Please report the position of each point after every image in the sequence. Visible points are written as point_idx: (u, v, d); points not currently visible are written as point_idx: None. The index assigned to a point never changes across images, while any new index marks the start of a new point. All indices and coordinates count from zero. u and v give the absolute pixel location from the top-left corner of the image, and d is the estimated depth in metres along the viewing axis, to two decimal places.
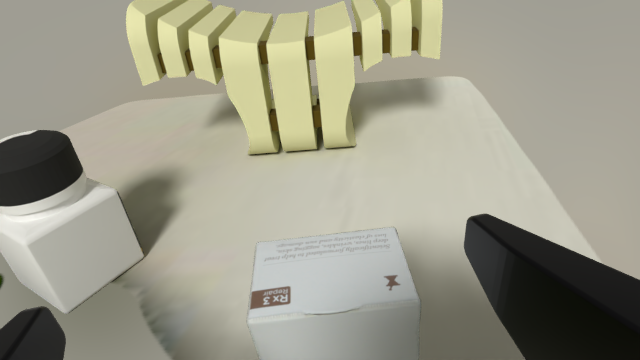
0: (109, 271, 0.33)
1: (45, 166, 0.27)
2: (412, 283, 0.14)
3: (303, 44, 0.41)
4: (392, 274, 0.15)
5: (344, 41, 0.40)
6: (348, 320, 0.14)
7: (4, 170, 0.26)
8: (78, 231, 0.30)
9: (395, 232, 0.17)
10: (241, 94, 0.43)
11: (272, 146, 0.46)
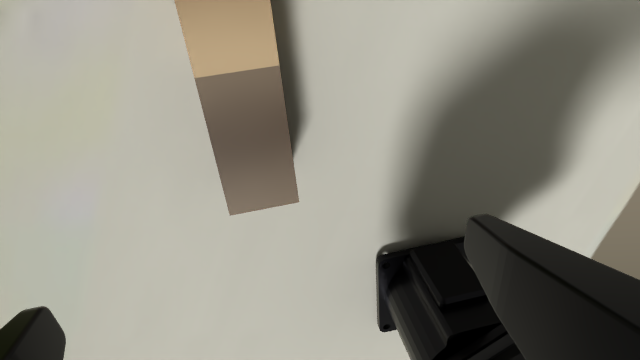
0: None
1: None
2: None
3: None
4: None
5: None
6: None
7: None
8: None
9: None
10: None
11: None
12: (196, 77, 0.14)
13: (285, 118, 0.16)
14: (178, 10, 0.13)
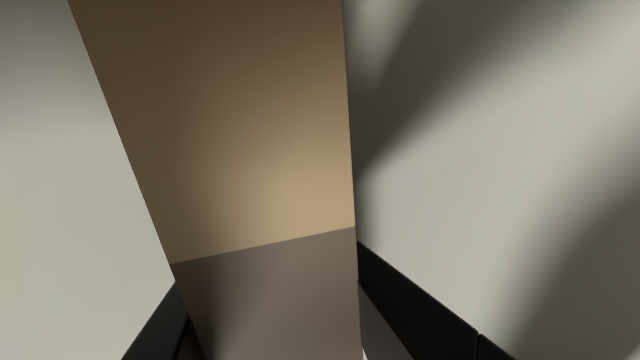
0: None
1: None
2: None
3: None
4: None
5: None
6: None
7: None
8: None
9: None
10: None
11: None
12: (173, 262, 0.06)
13: (357, 311, 0.08)
14: (121, 136, 0.05)
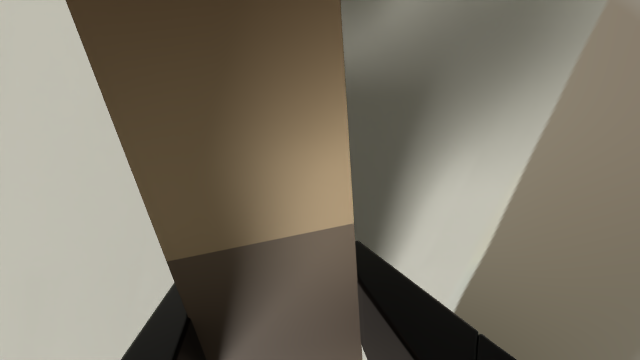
0: None
1: None
2: None
3: None
4: None
5: None
6: None
7: None
8: None
9: None
10: None
11: None
12: (171, 260, 0.06)
13: (356, 309, 0.08)
14: (118, 131, 0.05)
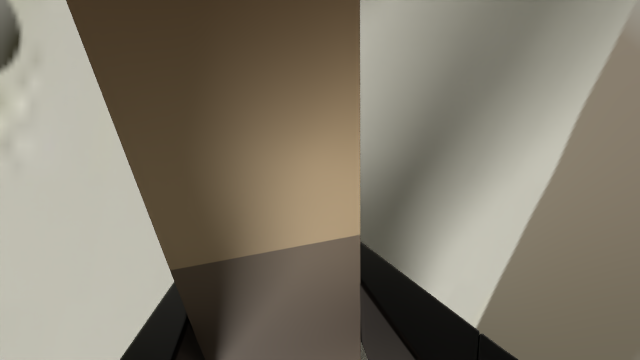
0: None
1: None
2: None
3: None
4: None
5: None
6: None
7: None
8: None
9: None
10: None
11: None
12: (174, 268, 0.06)
13: (357, 315, 0.08)
14: (123, 144, 0.05)
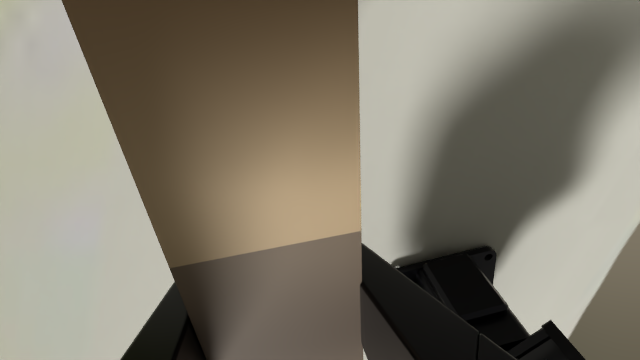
0: None
1: None
2: None
3: None
4: None
5: None
6: None
7: None
8: None
9: None
10: None
11: None
12: (174, 266, 0.06)
13: (359, 312, 0.08)
14: (120, 140, 0.05)
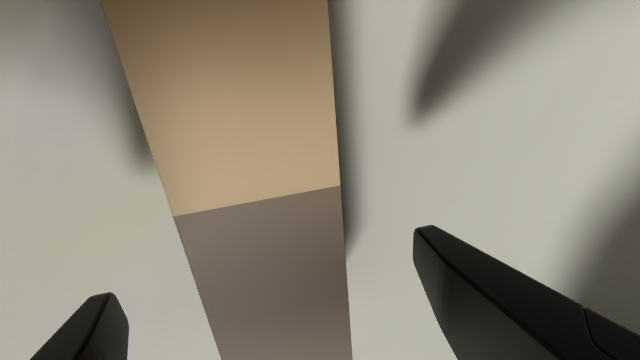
0: None
1: None
2: None
3: None
4: None
5: None
6: None
7: None
8: None
9: None
10: None
11: None
12: (176, 215, 0.07)
13: (343, 268, 0.09)
14: (134, 94, 0.06)
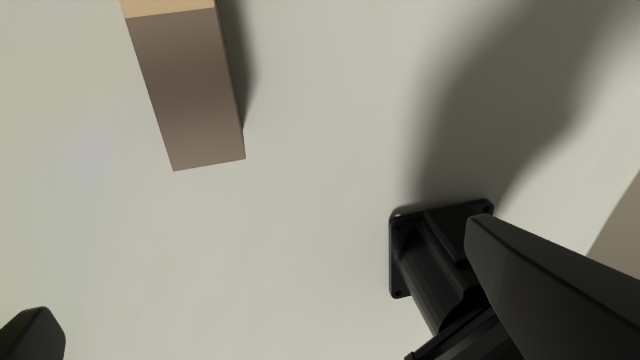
0: None
1: None
2: None
3: None
4: None
5: None
6: None
7: None
8: None
9: None
10: None
11: None
12: (126, 17, 0.14)
13: (225, 66, 0.15)
14: None
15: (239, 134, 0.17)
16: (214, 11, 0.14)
